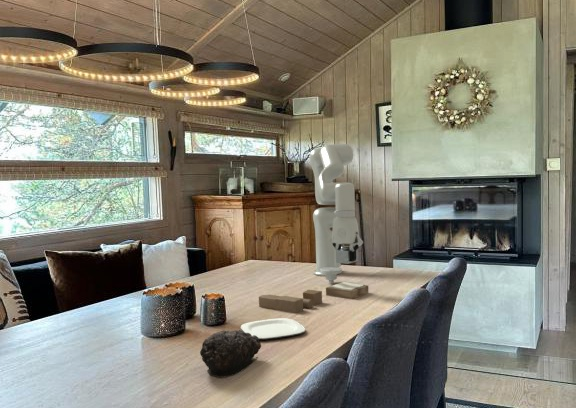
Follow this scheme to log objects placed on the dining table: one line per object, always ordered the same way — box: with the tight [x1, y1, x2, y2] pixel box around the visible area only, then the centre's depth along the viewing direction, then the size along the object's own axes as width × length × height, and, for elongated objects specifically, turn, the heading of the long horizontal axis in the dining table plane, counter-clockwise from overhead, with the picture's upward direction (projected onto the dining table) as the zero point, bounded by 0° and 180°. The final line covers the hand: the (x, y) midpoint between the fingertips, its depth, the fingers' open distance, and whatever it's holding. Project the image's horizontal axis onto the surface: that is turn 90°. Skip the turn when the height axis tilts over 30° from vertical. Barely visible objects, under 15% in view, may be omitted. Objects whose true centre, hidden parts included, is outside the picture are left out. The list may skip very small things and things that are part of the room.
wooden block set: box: [258, 289, 323, 314], centre depth 189 cm, size 17×6×18 cm
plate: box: [240, 317, 306, 340], centre depth 158 cm, size 18×18×2 cm
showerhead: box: [320, 267, 343, 285], centre depth 224 cm, size 9×7×10 cm
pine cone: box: [199, 329, 262, 378], centre depth 129 cm, size 10×18×10 cm, turn 153°
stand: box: [325, 281, 369, 300], centre depth 203 cm, size 12×12×3 cm
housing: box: [336, 245, 359, 265], centre depth 202 cm, size 7×6×6 cm
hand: (346, 259), depth 202 cm, fingers closed on housing, 5 cm apart
